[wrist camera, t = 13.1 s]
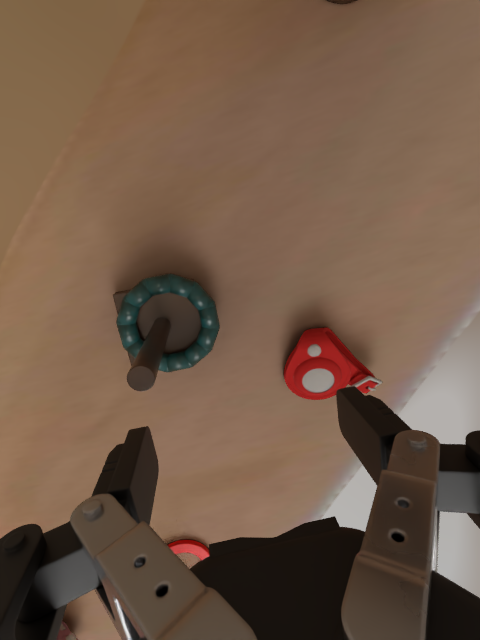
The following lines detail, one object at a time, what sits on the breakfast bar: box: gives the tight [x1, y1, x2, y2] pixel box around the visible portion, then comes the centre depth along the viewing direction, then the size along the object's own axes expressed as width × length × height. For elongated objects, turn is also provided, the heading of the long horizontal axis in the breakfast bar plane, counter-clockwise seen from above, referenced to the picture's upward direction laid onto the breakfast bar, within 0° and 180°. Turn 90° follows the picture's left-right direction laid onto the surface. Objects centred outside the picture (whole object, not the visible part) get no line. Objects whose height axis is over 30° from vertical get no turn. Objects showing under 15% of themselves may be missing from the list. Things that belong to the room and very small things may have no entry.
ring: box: [116, 274, 220, 372], centre depth 38 cm, size 11×11×2 cm
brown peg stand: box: [113, 279, 208, 391], centre depth 33 cm, size 9×9×16 cm
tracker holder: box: [284, 327, 382, 400], centre depth 43 cm, size 12×4×10 cm
